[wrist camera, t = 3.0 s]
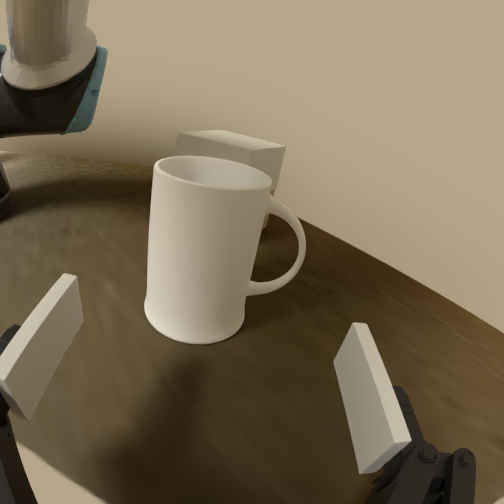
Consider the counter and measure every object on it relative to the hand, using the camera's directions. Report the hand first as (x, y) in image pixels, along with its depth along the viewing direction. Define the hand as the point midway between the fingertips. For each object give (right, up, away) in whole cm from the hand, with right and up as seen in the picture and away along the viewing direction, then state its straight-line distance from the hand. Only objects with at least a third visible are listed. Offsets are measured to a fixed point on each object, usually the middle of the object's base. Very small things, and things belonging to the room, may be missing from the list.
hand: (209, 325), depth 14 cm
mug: (-1, -2, +12) cm, 12 cm away
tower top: (-1, +12, +26) cm, 28 cm away
